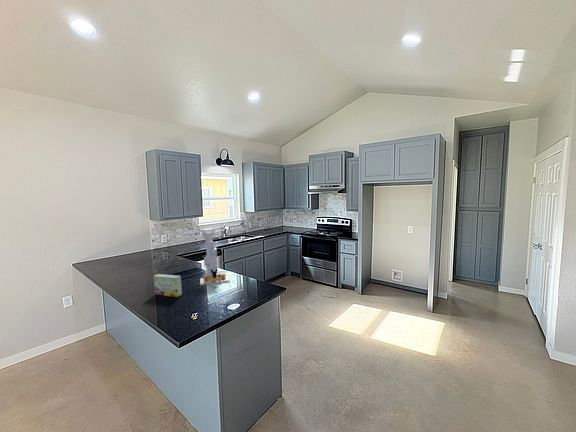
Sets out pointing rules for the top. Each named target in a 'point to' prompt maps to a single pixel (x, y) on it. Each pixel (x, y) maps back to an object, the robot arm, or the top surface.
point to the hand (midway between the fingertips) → (214, 277)
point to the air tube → (210, 277)
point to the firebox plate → (214, 280)
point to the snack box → (167, 285)
